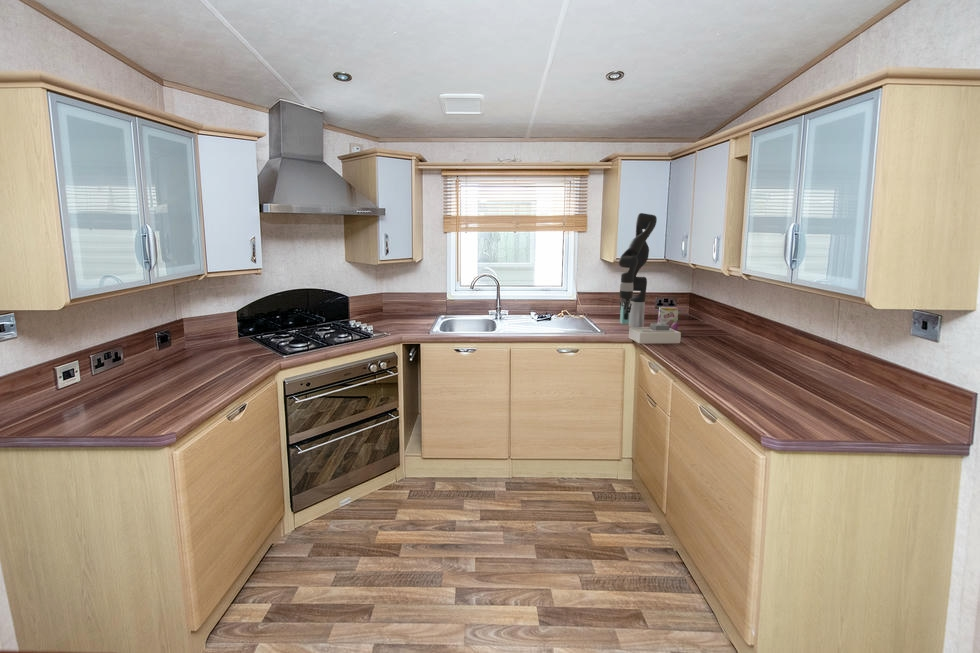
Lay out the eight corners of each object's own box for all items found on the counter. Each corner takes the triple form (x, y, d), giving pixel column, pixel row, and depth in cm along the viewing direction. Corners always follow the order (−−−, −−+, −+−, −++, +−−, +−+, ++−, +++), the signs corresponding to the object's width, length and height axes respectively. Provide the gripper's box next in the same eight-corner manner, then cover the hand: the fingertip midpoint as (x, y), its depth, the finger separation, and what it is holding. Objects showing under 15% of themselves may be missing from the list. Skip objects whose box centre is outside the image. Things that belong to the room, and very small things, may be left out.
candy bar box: (658, 334, 319) (660, 307, 316) (656, 332, 324) (658, 306, 321) (677, 334, 318) (679, 308, 315) (675, 333, 323) (677, 307, 320)
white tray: (628, 337, 306) (629, 326, 305) (667, 337, 309) (668, 326, 308) (639, 343, 291) (640, 331, 290) (680, 343, 293) (681, 331, 292)
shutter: (650, 328, 303) (650, 321, 302) (663, 328, 303) (663, 321, 303) (655, 331, 295) (656, 324, 294) (669, 330, 296) (669, 324, 295)
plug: (619, 322, 309) (620, 306, 307) (626, 322, 309) (627, 306, 307) (622, 324, 305) (623, 307, 303) (628, 323, 305) (629, 307, 303)
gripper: (637, 291, 297) (635, 321, 300) (628, 288, 310) (626, 316, 314) (624, 291, 296) (622, 321, 299) (616, 288, 310) (614, 316, 313)
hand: (624, 318), depth 307 cm, fingers closed on plug, 4 cm apart
